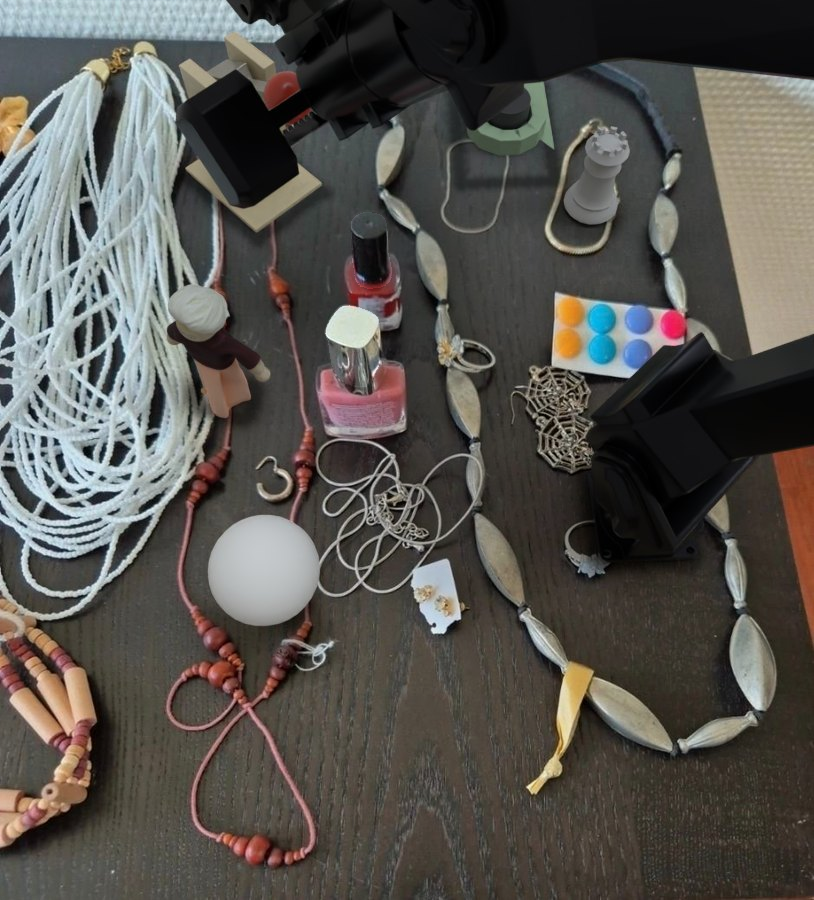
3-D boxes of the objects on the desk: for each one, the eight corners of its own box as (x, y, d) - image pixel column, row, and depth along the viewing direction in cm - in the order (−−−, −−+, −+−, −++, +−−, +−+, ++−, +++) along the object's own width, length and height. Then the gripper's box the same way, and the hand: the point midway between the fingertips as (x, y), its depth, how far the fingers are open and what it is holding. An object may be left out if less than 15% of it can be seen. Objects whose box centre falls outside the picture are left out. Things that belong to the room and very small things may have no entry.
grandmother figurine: (173, 411, 57) (115, 310, 45) (192, 366, 58) (140, 258, 47) (275, 435, 56) (243, 338, 44) (291, 388, 57) (264, 284, 46)
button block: (557, 182, 66) (562, 159, 63) (461, 185, 65) (463, 162, 63) (542, 87, 70) (547, 63, 68) (452, 89, 70) (454, 65, 68)
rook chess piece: (570, 241, 63) (592, 167, 56) (551, 199, 65) (570, 122, 57) (622, 229, 64) (651, 155, 56) (602, 188, 65) (627, 111, 58)
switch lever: (329, 112, 52) (311, 64, 50) (292, 137, 51) (272, 89, 49) (248, 92, 59) (229, 49, 56) (215, 115, 58) (194, 72, 55)
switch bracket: (323, 193, 65) (307, 71, 54) (258, 240, 63) (228, 123, 52) (253, 134, 68) (224, 7, 57) (188, 178, 66) (146, 55, 55)
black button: (530, 130, 65) (533, 113, 63) (486, 131, 65) (488, 114, 63) (525, 98, 67) (528, 81, 65) (483, 99, 66) (485, 82, 65)
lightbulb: (337, 562, 52) (321, 504, 42) (324, 655, 50) (304, 618, 39) (245, 553, 52) (209, 493, 42) (228, 645, 50) (184, 606, 40)
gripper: (452, -211, 38) (321, -83, 52) (142, -37, 33) (85, 56, 46) (546, 16, 43) (405, 79, 57) (290, 200, 38) (200, 223, 51)
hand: (282, 105), depth 52 cm, fingers open, 9 cm apart
